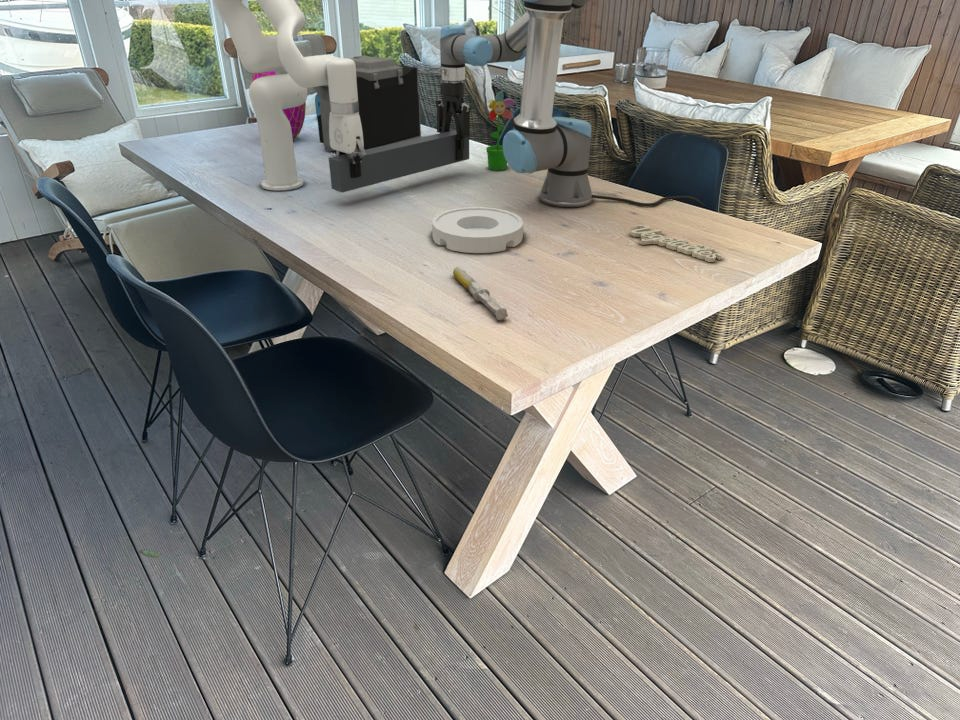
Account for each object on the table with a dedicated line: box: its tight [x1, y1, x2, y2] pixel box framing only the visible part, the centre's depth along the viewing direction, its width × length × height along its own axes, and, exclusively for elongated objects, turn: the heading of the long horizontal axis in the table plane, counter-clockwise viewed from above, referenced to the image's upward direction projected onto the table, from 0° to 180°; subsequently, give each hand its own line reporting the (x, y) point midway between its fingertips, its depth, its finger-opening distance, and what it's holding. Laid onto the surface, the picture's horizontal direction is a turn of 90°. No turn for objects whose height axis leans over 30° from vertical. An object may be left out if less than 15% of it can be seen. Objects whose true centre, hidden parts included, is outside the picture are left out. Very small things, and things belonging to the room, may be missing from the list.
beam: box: [328, 129, 470, 194], centre depth 207 cm, size 51×5×9 cm, turn 137°
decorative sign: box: [630, 224, 722, 263], centre depth 172 cm, size 26×1×10 cm
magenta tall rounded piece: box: [251, 71, 307, 139], centre depth 257 cm, size 19×19×30 cm
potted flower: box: [486, 90, 517, 171], centre depth 227 cm, size 9×8×25 cm
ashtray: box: [431, 206, 524, 254], centre depth 175 cm, size 23×23×4 cm
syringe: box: [452, 266, 509, 321], centre depth 145 cm, size 25×4×3 cm, turn 21°
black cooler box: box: [312, 55, 422, 152], centre depth 250 cm, size 37×22×30 cm, turn 144°
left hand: (350, 174), depth 195 cm, fingers closed on beam, 5 cm apart
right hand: (453, 157), depth 222 cm, fingers closed on beam, 5 cm apart
